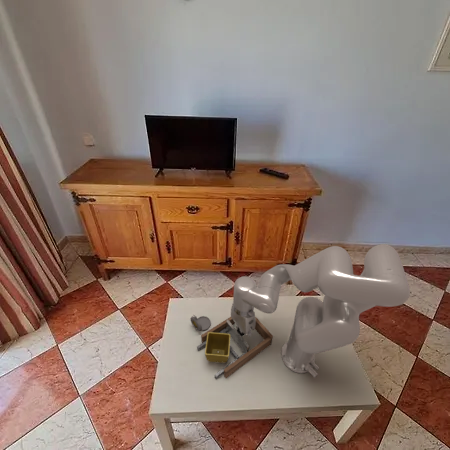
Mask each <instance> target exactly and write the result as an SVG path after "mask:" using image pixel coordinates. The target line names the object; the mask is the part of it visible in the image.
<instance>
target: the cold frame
mask: <svg viewBox="0 0 450 450" xmlns="http://www.w3.org/2000/svg"><path fill="white" fill-rule="evenodd" d="M255 318H256V325H255V329H254V331H256V332H257V334H258V335H259V336H260V337H261V338H262V339H263V340H262V341H260V343H258V344H256V345H255V346H254V347H252V348H251V349H249V351H248V352H247V353H246V354H244V355H243V356H242V357H240V358H239V359H237V360H236V361H235V362H233V363H232V364H231V365H229V366H228V367H226V368H225V369H224V374H223V377H224V378H225V379H227V378H228V377H230V376H232V375H233V374H234V373H235V372H237V371H238V370H239V369H241V368H242V367H243V366H245V365H247V363H249V362H250V361H251V360H252V359H254V358H255V357H257V356H258V355H259V354H260V353H262V352H263V351H264V350H266V349H267V348H269V347H270V346H271V345H272V343H273V339H274V335H273V334H272V333H271V332H270V331H269V330H268V329H267V328H266V326H265V325H264V324H263V323H262V322H261V321H260V320H259V319H258V318H257V316H255ZM227 320H229V321H230V323H231V324H232V325H233V326H234V325H236V323H235V322H234V321H233V319H232V318H231V316H229V317H227V318H226V319H225V320H223V321H221V322H220V323H218V324H217V325H215V326H213V327H212V328H209V330H207V331H205V332H203V333H202V334H201V335H200V341H201V344H202V343H203V342H205V341H206V340H207V334H208V332H214V333H219V332H220V331H222V330H223V329H225V328H226V321H227Z"/></svg>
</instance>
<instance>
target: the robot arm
mask: <svg viewBox="0 0 450 450" xmlns="http://www.w3.org/2000/svg"><path fill="white" fill-rule="evenodd" d="M363 261H364V262H363V265H364V267H363V270H362V272H361V274H360V275H357V274H354V268H353V262H352V258H351V255H350V254H349V252H348V251H347V250H346V249H345V248H343V247H341V246H338V245H332V246H329V247H327V248H324V249H323V250H321V251H319V252H317V253H315V254H313V255H311V256H310V257H308V258H306V259H304V260H302V261H300V262H299V263H296V264H295V265H292V264H288V263H287V264H283V263H282V264H277V265H275V266H273V267H271V268H269V269H268V270H267V271H265V272H264V273H262V275H261V276H260V278H259V281H258V284H257V283H256V281H255V280H254V279H253V278H252V277H250V276H245V275H244V276H241V277H240V276H239V277H238V278H237V279H236V280H235V282H234V283H233V298H232V299H233V301H232V303H231V304H232V305H231V308H230V317H231V318H232V319H233V321H234V322H235V326H236V330H237V331H238V333H239V334H240V335H241V336H242V337H244V336H248V337H251V336H252V335H253V334H252V331H255V325H256V318H257V317H256V312H255V311H254V309H257V310H258V311H260V312H262V313H264V314H273V313H275V311H276V310H277V309H278V303H279V298H280V292H281V286H282V285H284V284H285V283H288V282H290V281H291V282H292V283H293V285H294V286H295V288H296V289H297V290H298V291H300V292H302V293H309V292H311V291H314V290H317V289H318V290H319V291H320V293H322V294H323V295H324V296H323V300H321V299H320V298H318V297H314V296H307V297H304V298H302V299H301V300H300V301H299V302H298V303H297V306H296V310H295V315H294V319H293V324H292V327H291V330H290V334H289V338H288V341H286V342H284V344H283V345H282V347H281V352H280V355H281V359H282V362H283V363H284V365H285V366H286V367H287V368H288V370H290V371H292V372H294V373H297V374H305V373H306V374H307V373H308V372H309V374H311V376H312V377H313V378H316V377H317V376H318V375H319V373H318V372H317V371H318V370H319V369H320V367H319V366H318V365H317V364H316V363H315V361H316V359H315V357H316V356H315V354H321V353H325V352H329V351H331V350H332V351H333V350H335V349H338V348H339V349H340V348H342V347H345V346H348V345H351V344H353V343H354V342H356V341H357V339H358V338H359V337H360V333H361V328H360V327H361V325H360V314H362V313H364V312H365V311H368V310H370V309H372V308H374V307H390V308H391V307H392V308H393V307H397V306H402V305H403V304H405V303H406V302H407V301H408V300H409V299H410V296H411V289H410V285H409V281H408V278H407V276H406V272H405V269H404V266H403V262H402V259H401V257H400V255H399V252H398V251H397V250H396V249H395V248H394V247H393V246H392V245H390V244H386V243H381V244H377V245H374V246H373V247H371V248H370V249H369V250H368V251H367V252H366V255H365V257H364V260H363ZM255 317H256V318H255Z"/></svg>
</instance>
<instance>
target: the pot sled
mask: <svg viewBox="0 0 450 450" xmlns="http://www.w3.org/2000/svg"><path fill="white" fill-rule="evenodd" d="M219 333H226V334H230V339H232V341H233V342H234V343H235V344H236V346H237V347H238V348H239V350H240V351H241V353H242V354H240V355H238V354H237V352H236V351H235V350H234V348H233V347H232V346H231V345H230V350H229V354H231V356H232V357H233V358H234V359H233V360H232V361H231V362H229V363H228V364H227V365H226V366H224V367H223V368H221V369H219V371H217V372H216V373H215V374H214V379H216V380H217V379H219V378H220V377H221V376H224V369H225V368H226V367H228V366H229V365H231V364H232V363H233V362H235V361H236V360H237V359H239V358H240V357H242V356H243V355H244V354H246V353H247V352H248V351H250V345H249V343H248V342H247V341H246V340H245V339H244V338H243V337H244V336H241V335H240V334H239V333H238V331H237V328H235V326H234V325H232V324H231V323H230V321H229V320H227V321H226V328H225V329H223V330H222V331H220V332H219ZM206 342H207V340H206V341H205V342H203V343H202V342H201V343H200V344H198V345H197V346H196V350H197V352H200V351H201V350H202V349H205V348H206Z"/></svg>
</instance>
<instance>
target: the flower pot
mask: <svg viewBox="0 0 450 450" xmlns="http://www.w3.org/2000/svg"><path fill="white" fill-rule="evenodd" d="M230 346H231V337H230V334H228V333H214V332H208V334H207V342H206V347H204V355H205V359H206V360H207V361H208V362H210V363H221V364H226V363H227V362H228V360H229V358H230V351H229V350H230Z"/></svg>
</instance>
